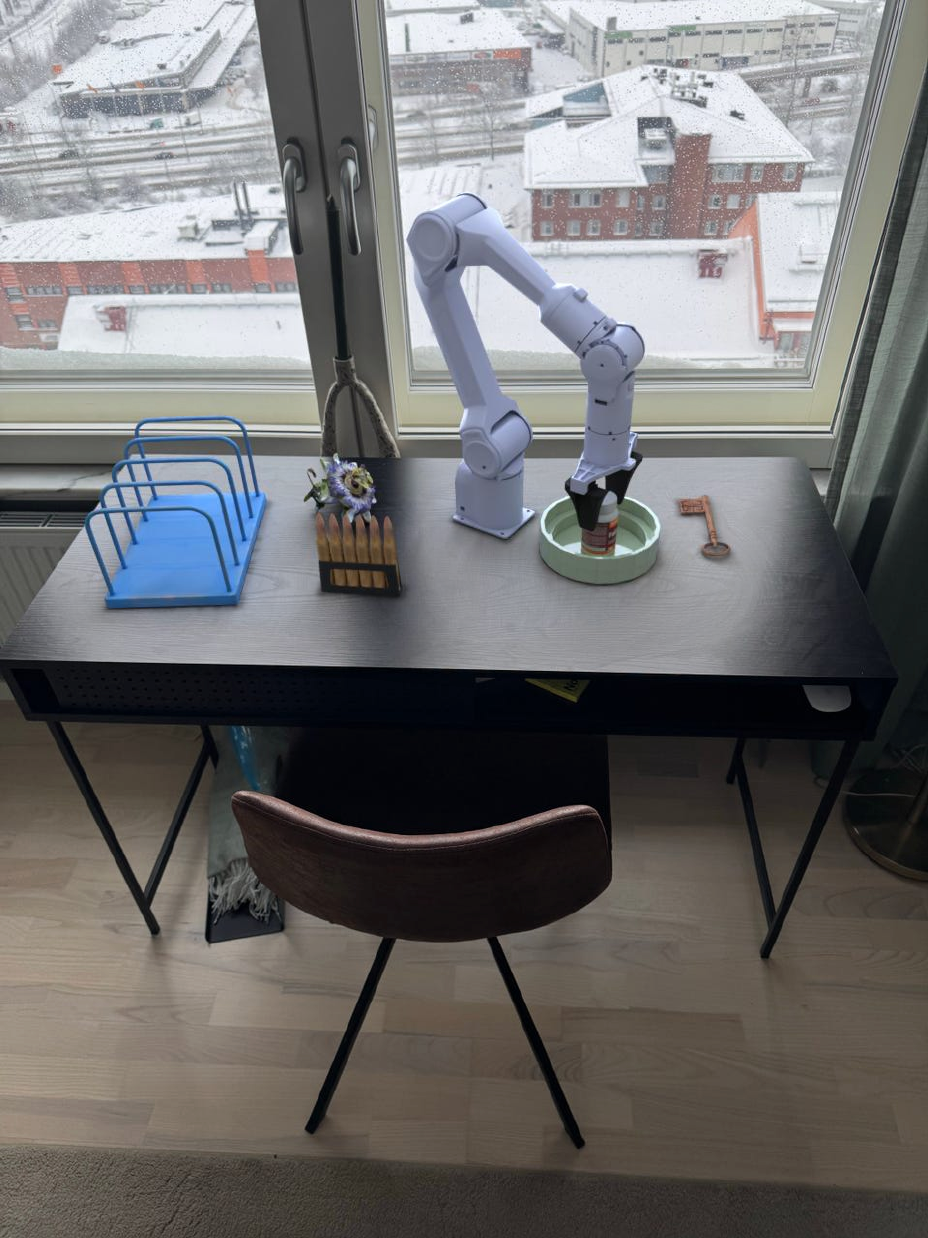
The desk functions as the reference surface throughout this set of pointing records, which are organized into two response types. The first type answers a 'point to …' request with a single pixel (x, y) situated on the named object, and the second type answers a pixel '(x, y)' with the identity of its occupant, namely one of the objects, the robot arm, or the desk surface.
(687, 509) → the key
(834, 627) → the desk surface
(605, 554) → the pill bottle
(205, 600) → the file sorter
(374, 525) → the ammunition clip
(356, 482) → the passion flower
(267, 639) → the desk surface
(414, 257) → the robot arm
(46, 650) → the desk surface
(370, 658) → the desk surface
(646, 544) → the bowl
